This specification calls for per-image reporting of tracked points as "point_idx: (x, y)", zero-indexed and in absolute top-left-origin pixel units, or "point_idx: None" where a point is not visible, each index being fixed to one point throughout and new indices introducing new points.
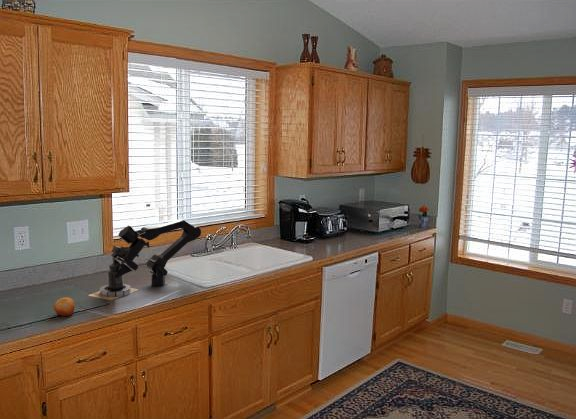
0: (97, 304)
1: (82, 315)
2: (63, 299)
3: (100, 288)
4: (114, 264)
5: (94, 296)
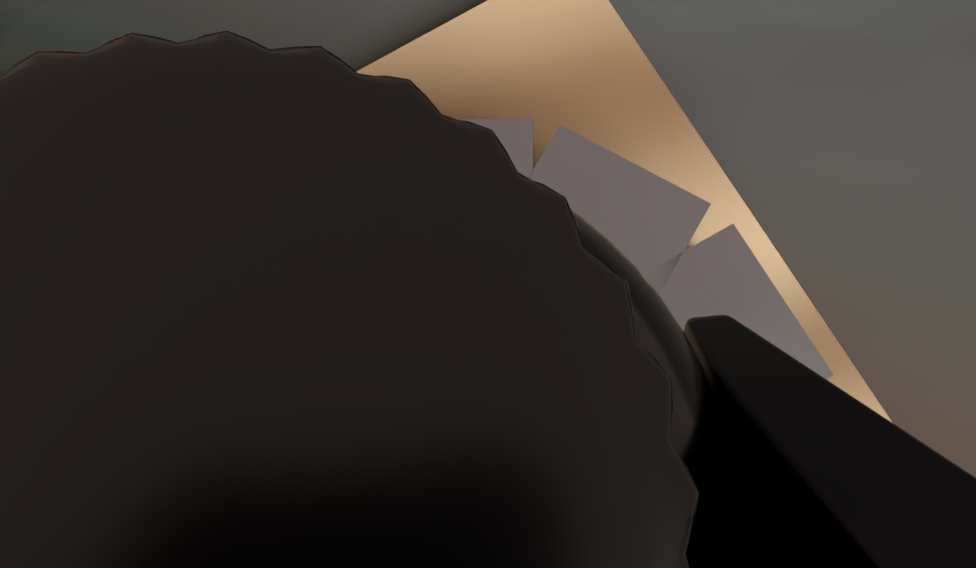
0: (65, 26)
1: None
2: None
3: (571, 149)
4: (173, 544)
5: (431, 41)
